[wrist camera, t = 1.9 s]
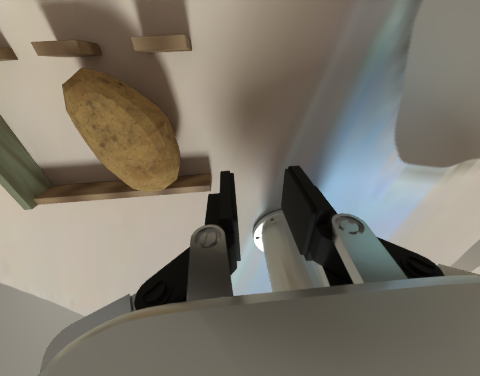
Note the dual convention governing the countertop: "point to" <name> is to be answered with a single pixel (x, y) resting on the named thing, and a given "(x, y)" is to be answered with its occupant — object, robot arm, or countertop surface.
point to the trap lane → (42, 192)
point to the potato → (123, 130)
